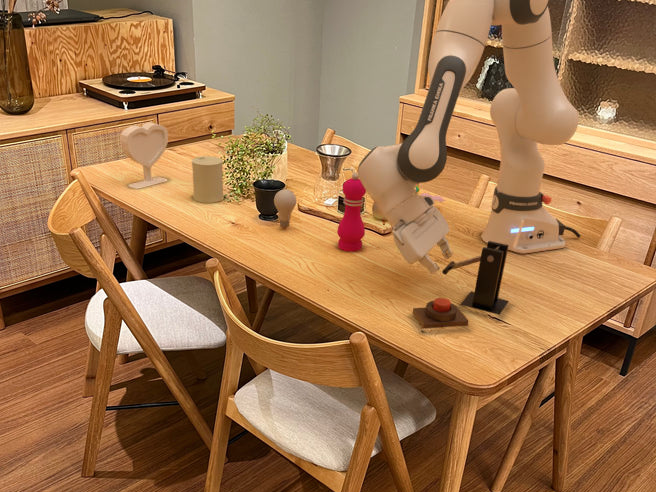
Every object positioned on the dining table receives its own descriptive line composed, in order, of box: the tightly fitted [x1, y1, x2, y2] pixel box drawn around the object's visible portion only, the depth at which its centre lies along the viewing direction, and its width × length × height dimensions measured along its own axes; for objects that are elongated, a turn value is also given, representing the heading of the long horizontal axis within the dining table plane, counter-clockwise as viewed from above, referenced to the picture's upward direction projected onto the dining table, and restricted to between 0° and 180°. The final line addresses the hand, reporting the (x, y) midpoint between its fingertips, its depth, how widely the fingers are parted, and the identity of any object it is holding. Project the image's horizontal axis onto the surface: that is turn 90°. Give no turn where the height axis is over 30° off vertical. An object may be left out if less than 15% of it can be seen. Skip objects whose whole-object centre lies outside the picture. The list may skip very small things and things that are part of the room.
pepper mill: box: [336, 172, 367, 253], centre depth 181 cm, size 7×7×20 cm
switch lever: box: [441, 246, 501, 275], centre depth 155 cm, size 13×6×2 cm
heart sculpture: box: [119, 122, 169, 189], centre depth 220 cm, size 16×5×18 cm, turn 138°
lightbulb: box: [273, 188, 297, 230], centre depth 193 cm, size 6×6×11 cm
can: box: [191, 155, 225, 204], centre depth 212 cm, size 9×9×12 cm
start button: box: [433, 297, 452, 312], centre depth 149 cm, size 4×4×2 cm
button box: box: [412, 300, 469, 334], centre depth 151 cm, size 10×7×4 cm
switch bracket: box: [460, 241, 509, 316], centre depth 155 cm, size 9×8×15 cm
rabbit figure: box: [403, 185, 446, 203], centre depth 215 cm, size 6×6×15 cm
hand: (443, 264), depth 159 cm, fingers open, 8 cm apart
